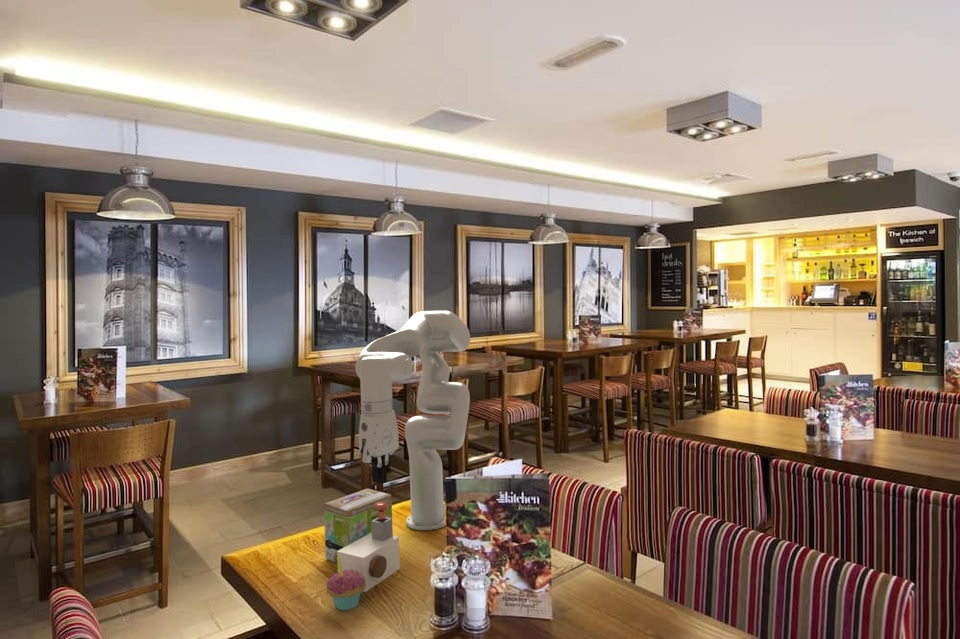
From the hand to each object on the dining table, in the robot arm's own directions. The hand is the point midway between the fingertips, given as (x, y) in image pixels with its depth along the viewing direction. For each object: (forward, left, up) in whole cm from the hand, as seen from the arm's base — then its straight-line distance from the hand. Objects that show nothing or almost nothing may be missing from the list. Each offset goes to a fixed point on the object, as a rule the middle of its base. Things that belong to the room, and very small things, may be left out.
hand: (379, 481), depth 150 cm
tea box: (-5, -12, -22) cm, 26 cm away
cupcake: (+17, +3, -22) cm, 28 cm away
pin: (+7, -2, -20) cm, 21 cm away
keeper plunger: (0, 0, -11) cm, 11 cm away
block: (+4, -1, -22) cm, 22 cm away
